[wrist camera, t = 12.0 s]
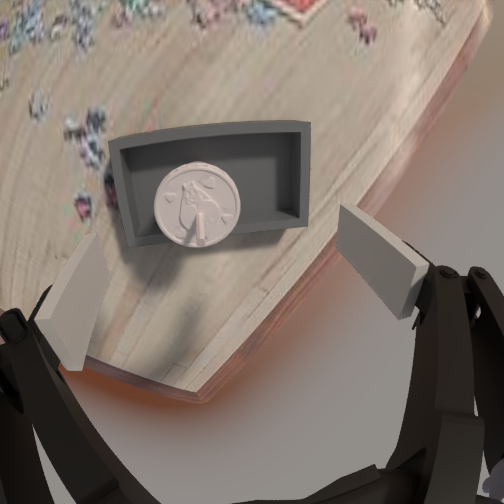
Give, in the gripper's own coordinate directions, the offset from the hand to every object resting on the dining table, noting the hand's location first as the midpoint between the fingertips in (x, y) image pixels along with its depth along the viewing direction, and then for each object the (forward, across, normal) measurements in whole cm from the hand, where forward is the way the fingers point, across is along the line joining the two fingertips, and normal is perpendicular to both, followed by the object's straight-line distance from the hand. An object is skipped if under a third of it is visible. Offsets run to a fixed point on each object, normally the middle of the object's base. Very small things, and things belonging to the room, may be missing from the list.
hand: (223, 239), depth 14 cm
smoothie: (+16, -1, -1) cm, 16 cm away
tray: (+17, 0, -1) cm, 17 cm away
